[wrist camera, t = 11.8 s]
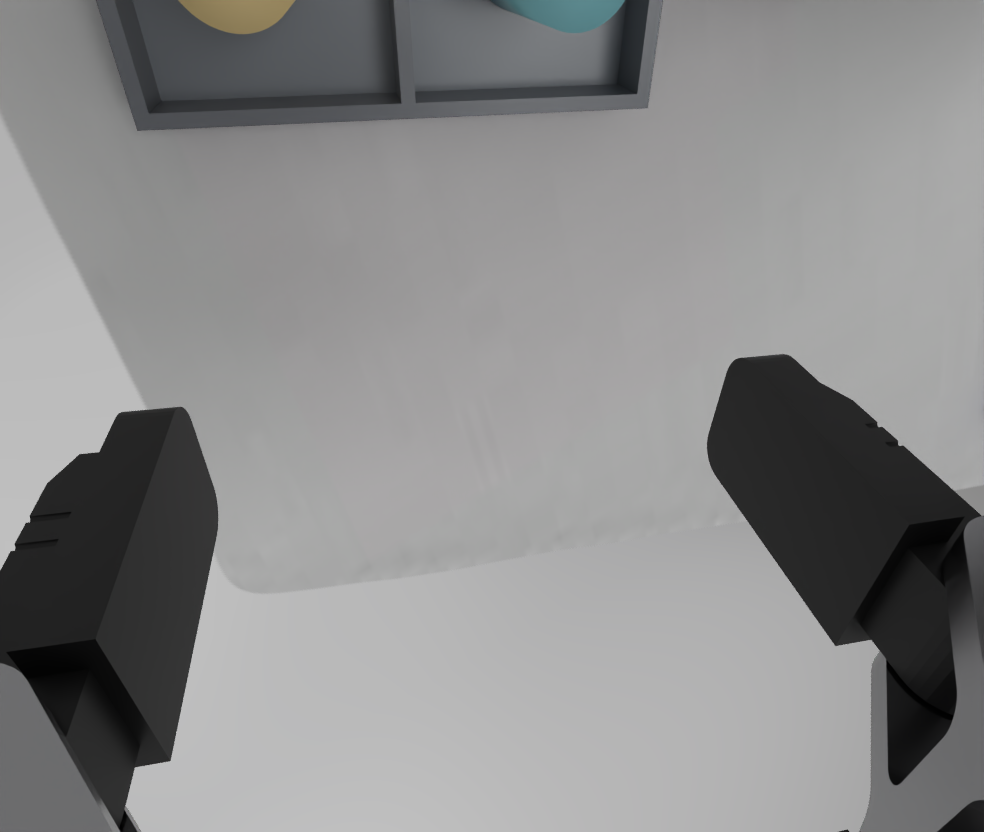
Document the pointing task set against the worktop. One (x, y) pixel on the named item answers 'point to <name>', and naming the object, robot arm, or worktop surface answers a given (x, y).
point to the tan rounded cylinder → (238, 13)
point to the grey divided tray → (374, 63)
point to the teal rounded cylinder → (564, 12)
